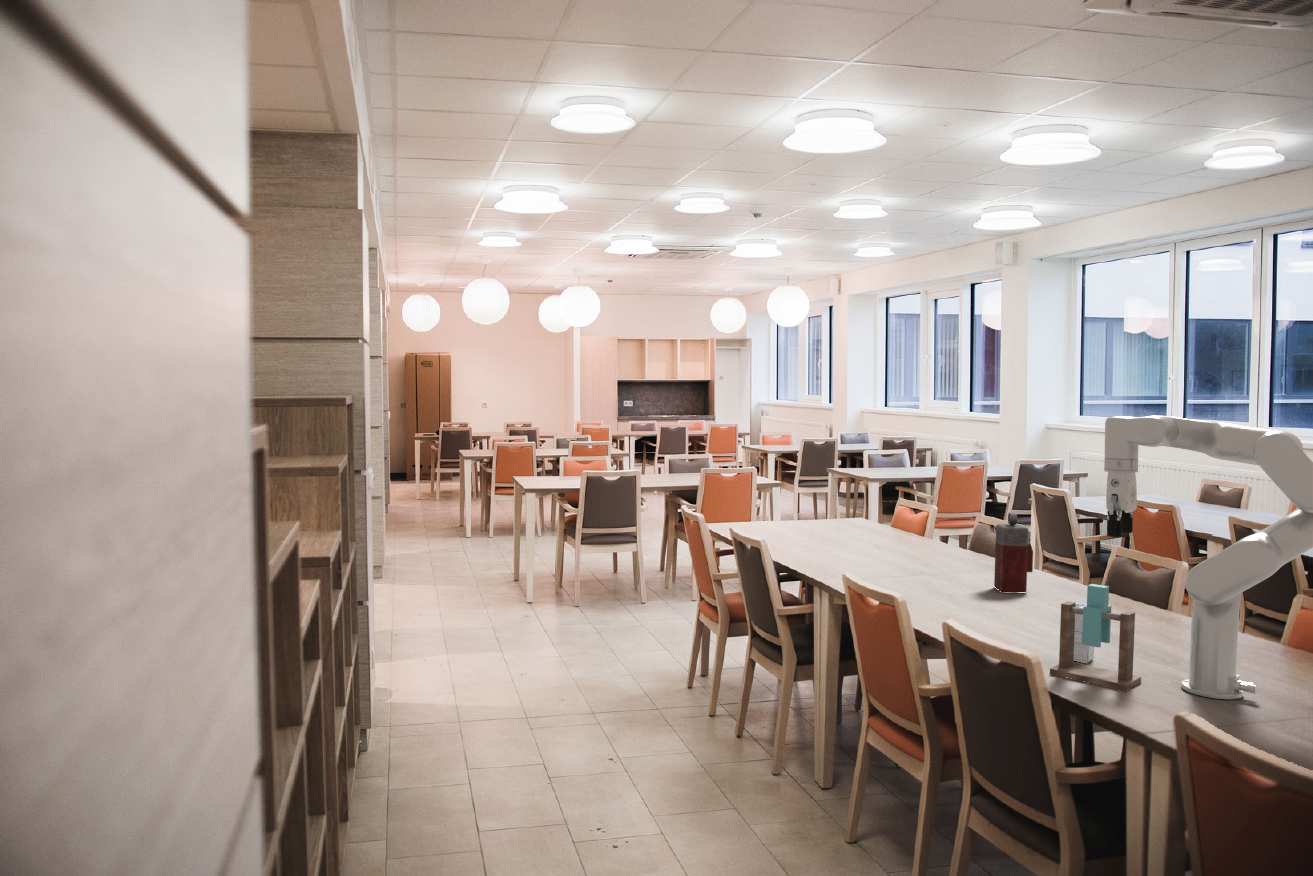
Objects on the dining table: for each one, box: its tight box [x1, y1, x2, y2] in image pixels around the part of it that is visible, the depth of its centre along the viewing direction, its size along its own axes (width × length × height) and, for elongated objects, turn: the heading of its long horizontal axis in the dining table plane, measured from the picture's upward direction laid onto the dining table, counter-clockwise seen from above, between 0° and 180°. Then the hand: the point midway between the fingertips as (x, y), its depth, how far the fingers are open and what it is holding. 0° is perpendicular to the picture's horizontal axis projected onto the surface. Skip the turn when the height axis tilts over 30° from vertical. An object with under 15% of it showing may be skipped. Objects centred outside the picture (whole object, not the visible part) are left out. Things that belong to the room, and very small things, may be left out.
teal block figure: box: [1082, 583, 1112, 648], centre depth 230 cm, size 4×7×14 cm, turn 135°
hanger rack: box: [1049, 601, 1142, 692], centre depth 231 cm, size 18×10×18 cm, turn 45°
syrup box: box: [1073, 602, 1095, 665], centre depth 247 cm, size 6×6×14 cm
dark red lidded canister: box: [993, 512, 1034, 593], centre depth 335 cm, size 9×11×28 cm
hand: (1119, 534), depth 234 cm, fingers open, 9 cm apart
